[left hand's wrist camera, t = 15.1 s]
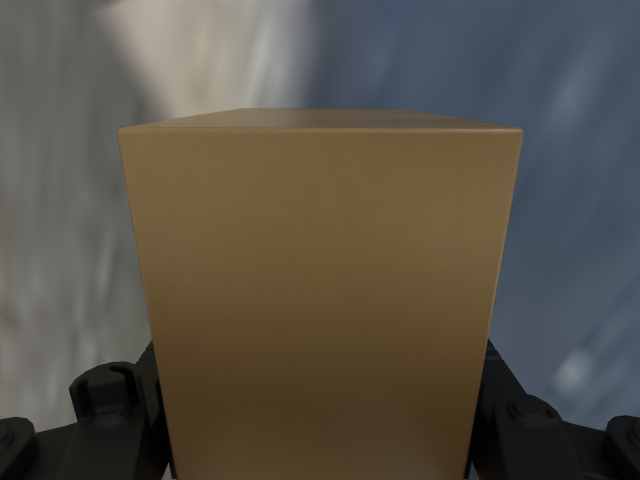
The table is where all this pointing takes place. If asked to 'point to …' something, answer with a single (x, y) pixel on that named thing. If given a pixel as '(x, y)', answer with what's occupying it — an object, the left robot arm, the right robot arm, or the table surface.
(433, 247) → the plank
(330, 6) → the table surface
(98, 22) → the table surface
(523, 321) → the table surface
